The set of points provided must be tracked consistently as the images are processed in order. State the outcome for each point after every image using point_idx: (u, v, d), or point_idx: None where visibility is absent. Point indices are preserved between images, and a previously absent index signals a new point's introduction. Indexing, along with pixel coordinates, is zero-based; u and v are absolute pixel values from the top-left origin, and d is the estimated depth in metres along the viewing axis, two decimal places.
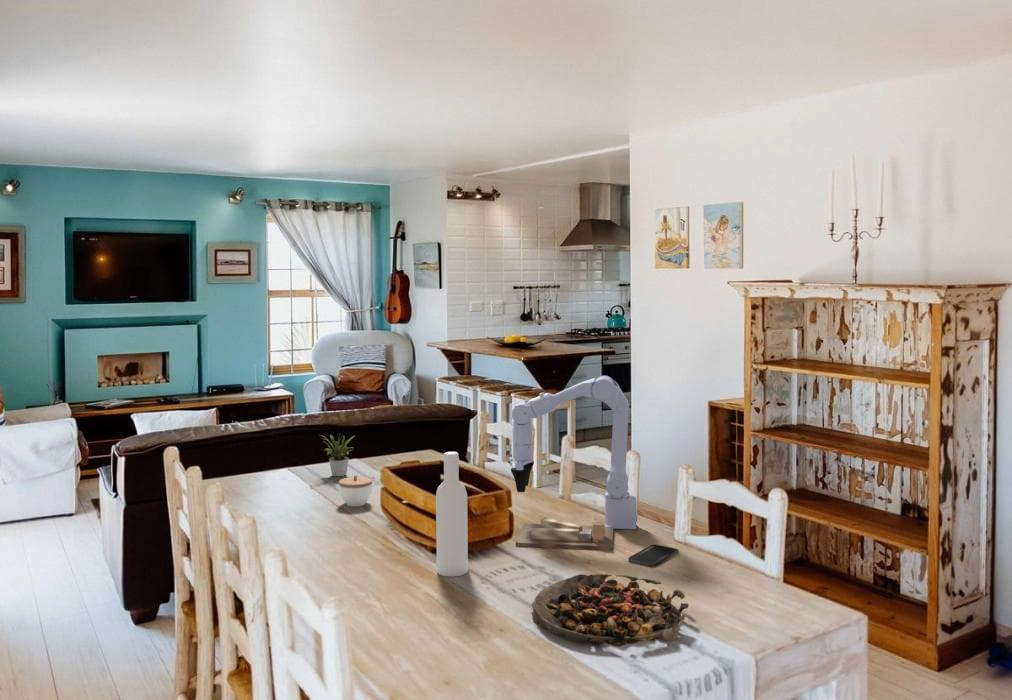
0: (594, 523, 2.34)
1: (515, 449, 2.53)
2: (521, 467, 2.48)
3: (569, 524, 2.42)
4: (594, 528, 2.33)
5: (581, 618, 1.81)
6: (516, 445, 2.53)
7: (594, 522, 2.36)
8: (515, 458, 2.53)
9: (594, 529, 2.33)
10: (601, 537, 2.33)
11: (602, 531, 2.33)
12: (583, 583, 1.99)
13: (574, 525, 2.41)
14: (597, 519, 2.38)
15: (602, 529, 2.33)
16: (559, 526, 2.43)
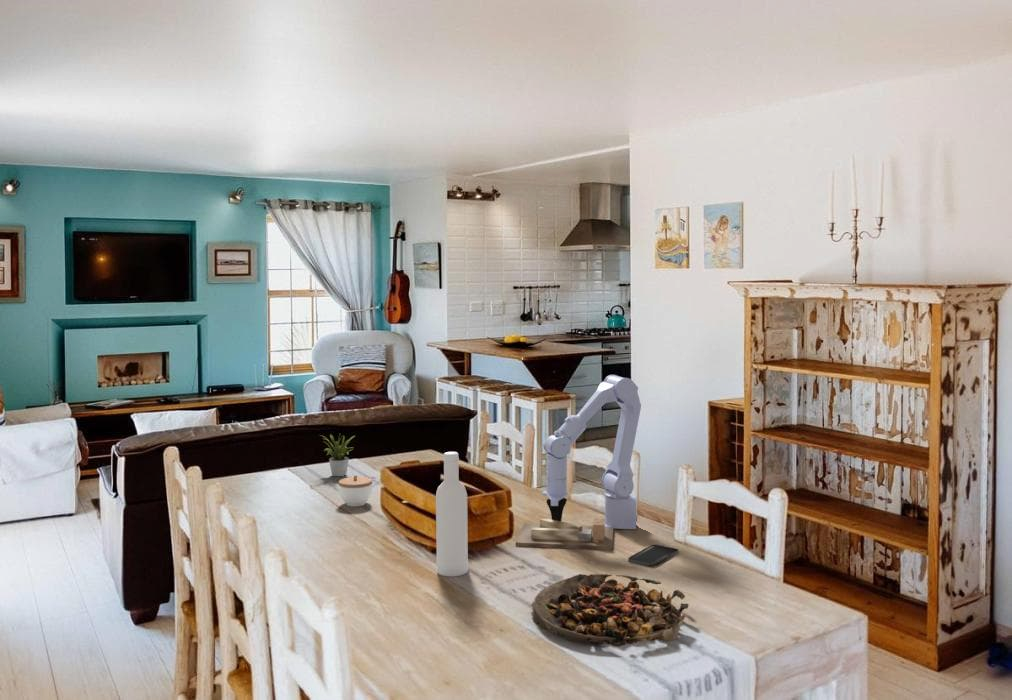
0: (594, 523, 2.34)
1: (549, 483, 2.44)
2: (556, 503, 2.39)
3: (569, 524, 2.42)
4: (594, 528, 2.33)
5: (581, 618, 1.81)
6: (550, 479, 2.44)
7: (594, 522, 2.36)
8: (549, 493, 2.44)
9: (594, 529, 2.33)
10: (601, 537, 2.33)
11: (602, 531, 2.33)
12: (583, 583, 1.99)
13: (574, 525, 2.41)
14: (597, 519, 2.38)
15: (602, 529, 2.33)
16: (559, 526, 2.43)
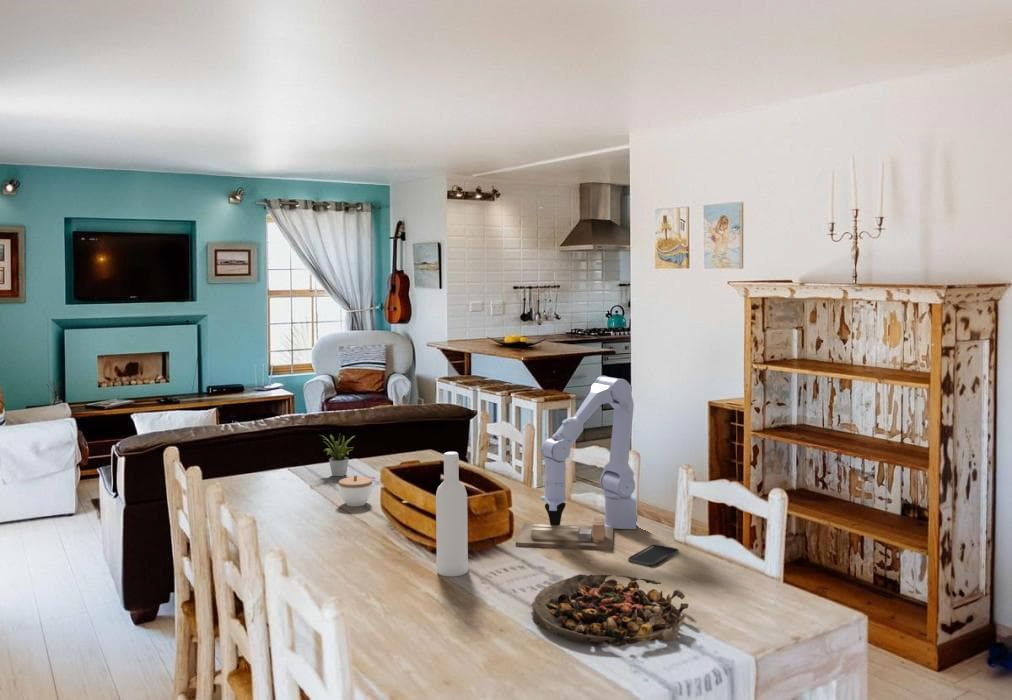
0: (594, 523, 2.34)
1: (548, 488, 2.39)
2: (555, 508, 2.34)
3: (566, 526, 2.39)
4: (594, 528, 2.33)
5: (581, 618, 1.81)
6: (549, 483, 2.39)
7: (594, 522, 2.36)
8: (547, 497, 2.39)
9: (594, 529, 2.33)
10: (601, 537, 2.33)
11: (602, 531, 2.33)
12: (583, 583, 1.99)
13: (572, 527, 2.39)
14: (597, 519, 2.38)
15: (602, 529, 2.33)
16: None
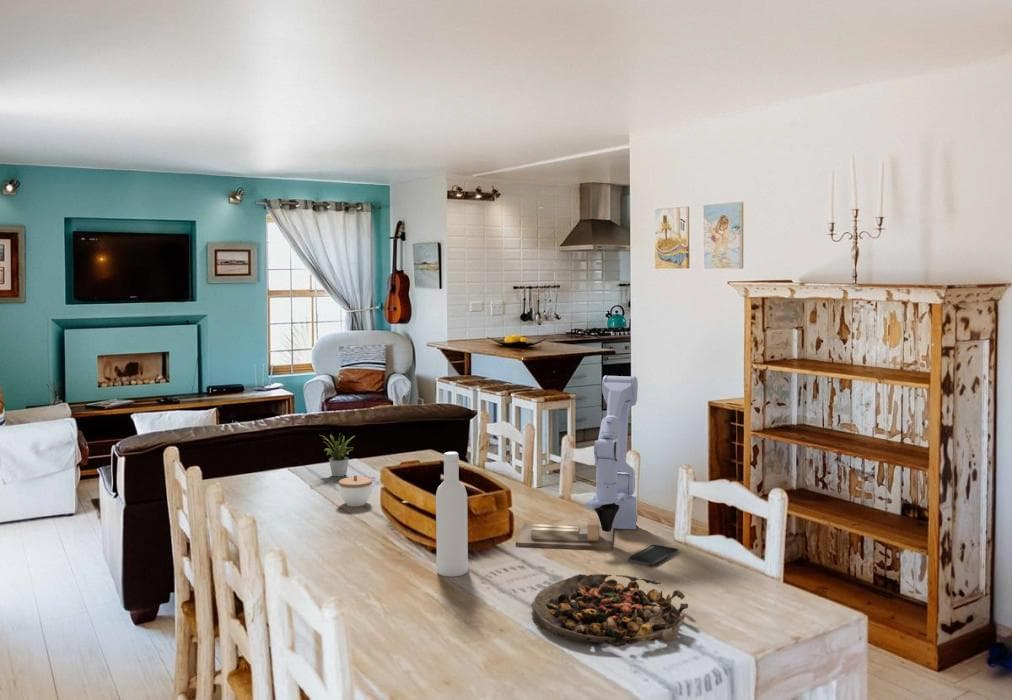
0: (589, 523, 2.35)
1: (596, 487, 2.35)
2: (590, 507, 2.30)
3: (566, 526, 2.39)
4: (589, 528, 2.34)
5: (581, 618, 1.81)
6: (596, 483, 2.35)
7: (589, 522, 2.36)
8: (596, 496, 2.35)
9: (589, 529, 2.34)
10: (596, 537, 2.34)
11: (597, 531, 2.33)
12: (583, 583, 1.99)
13: (572, 527, 2.39)
14: (592, 519, 2.39)
15: (597, 529, 2.33)
16: None
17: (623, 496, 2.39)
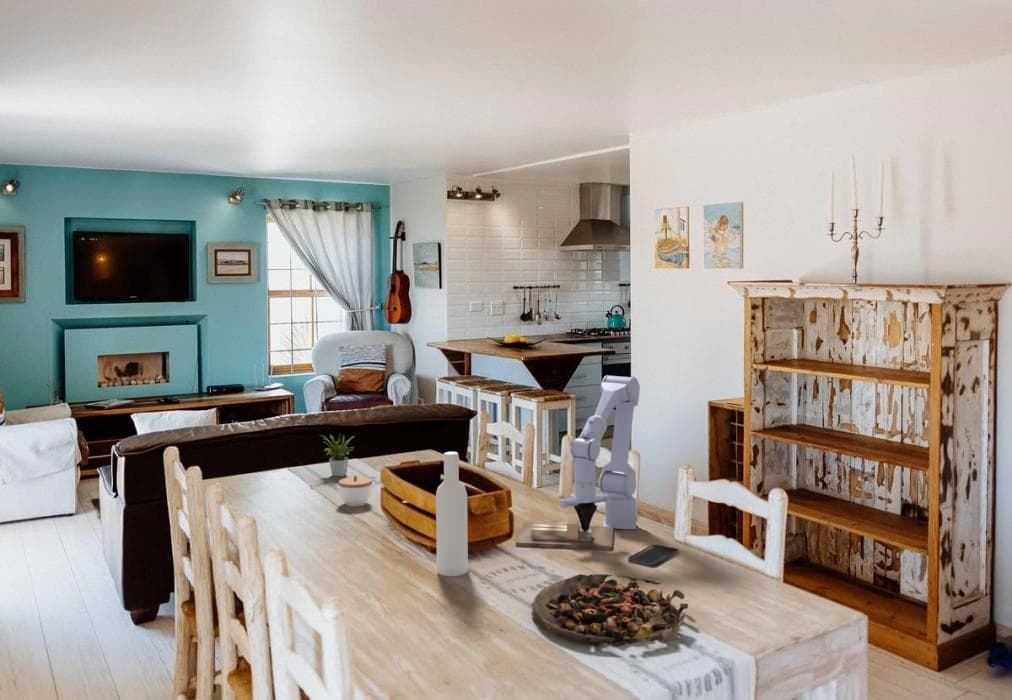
0: (568, 522, 2.36)
1: None
2: (562, 504, 2.33)
3: (566, 526, 2.39)
4: (568, 527, 2.34)
5: (581, 618, 1.81)
6: None
7: (568, 521, 2.37)
8: None
9: (568, 528, 2.35)
10: (575, 536, 2.34)
11: (576, 530, 2.34)
12: (583, 583, 1.99)
13: None
14: (572, 518, 2.39)
15: (576, 528, 2.34)
16: None
17: (605, 497, 2.38)
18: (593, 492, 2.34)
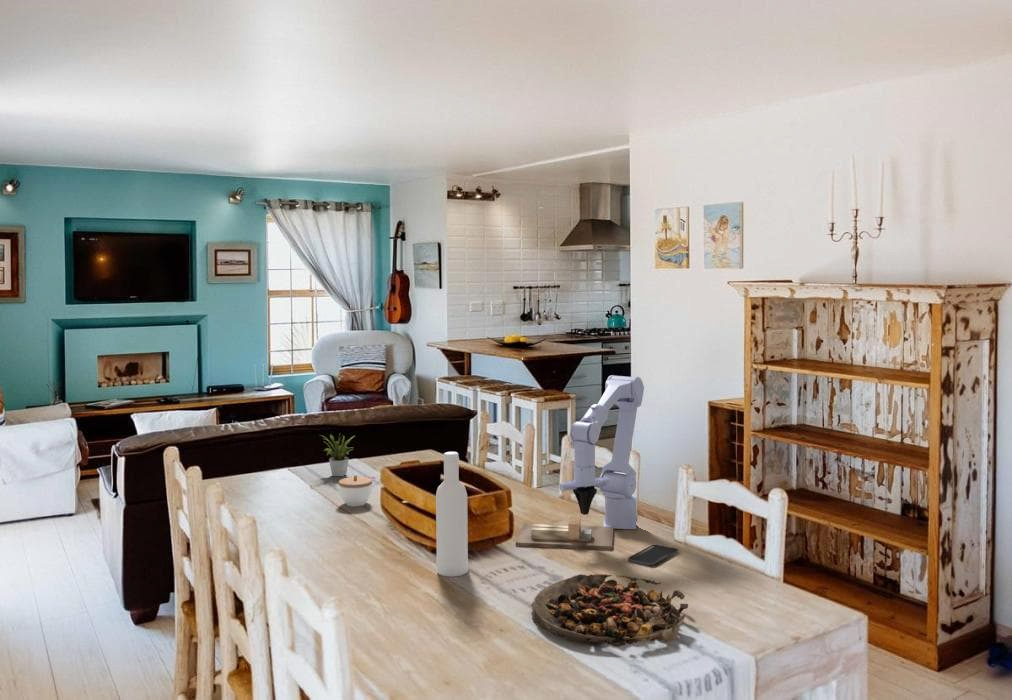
0: (570, 522, 2.35)
1: None
2: (562, 488, 2.33)
3: (566, 526, 2.39)
4: (569, 527, 2.34)
5: (581, 618, 1.81)
6: (574, 465, 2.36)
7: (570, 521, 2.37)
8: None
9: (569, 528, 2.34)
10: (576, 536, 2.34)
11: (577, 530, 2.34)
12: (583, 583, 1.99)
13: None
14: (573, 518, 2.39)
15: (577, 528, 2.34)
16: None
17: (604, 481, 2.37)
18: (592, 476, 2.34)
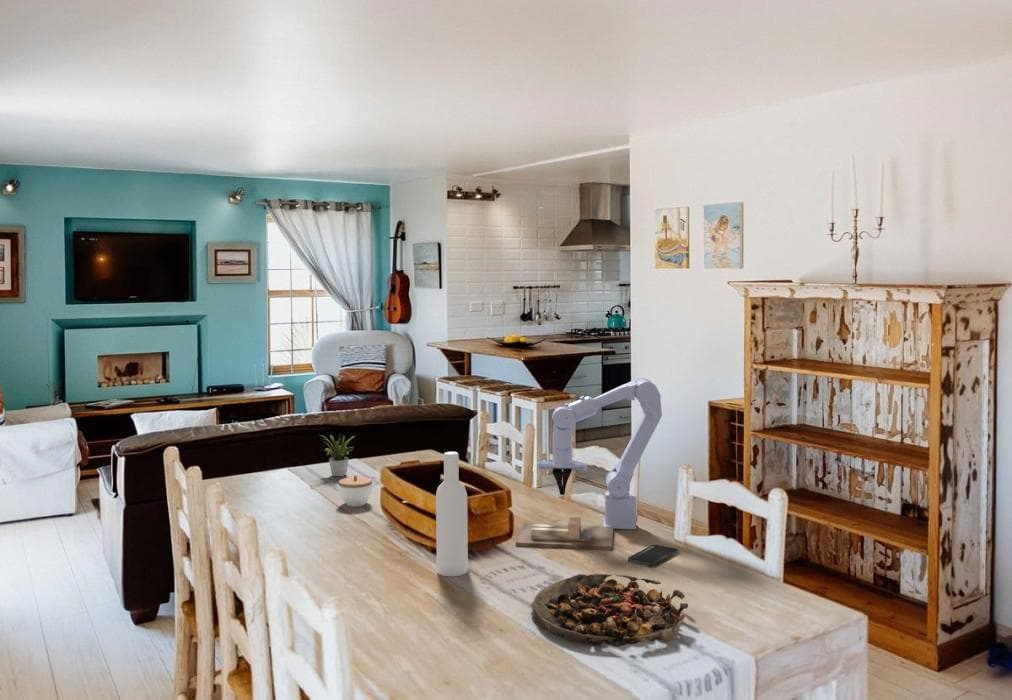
0: (570, 522, 2.35)
1: None
2: None
3: (566, 526, 2.39)
4: (569, 527, 2.34)
5: (581, 618, 1.81)
6: None
7: (570, 521, 2.37)
8: None
9: (569, 528, 2.34)
10: (576, 536, 2.34)
11: (577, 530, 2.34)
12: (583, 583, 1.99)
13: None
14: (573, 518, 2.39)
15: (577, 528, 2.34)
16: None
17: (581, 466, 2.50)
18: (565, 459, 2.49)
